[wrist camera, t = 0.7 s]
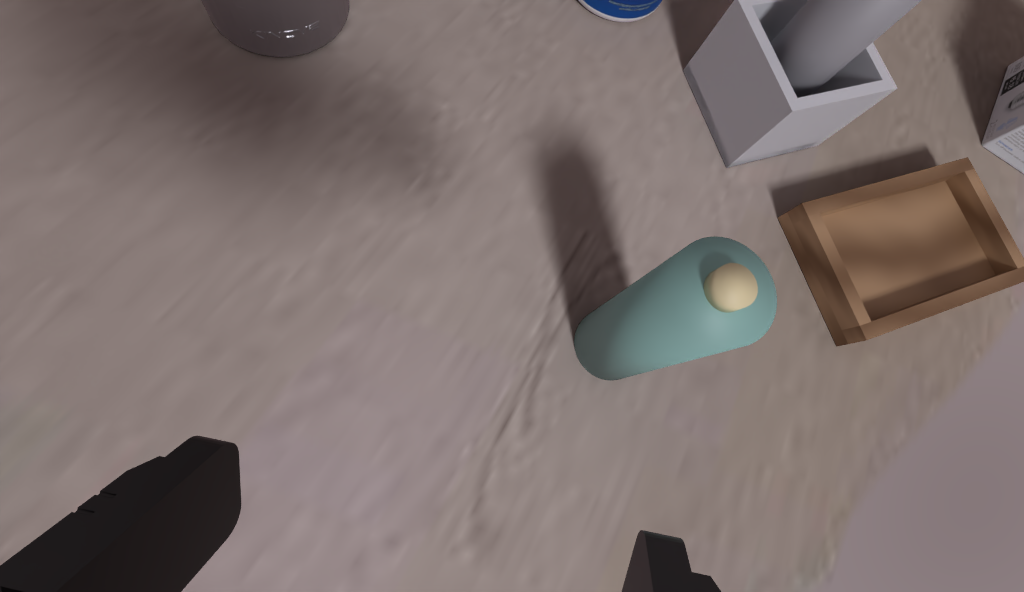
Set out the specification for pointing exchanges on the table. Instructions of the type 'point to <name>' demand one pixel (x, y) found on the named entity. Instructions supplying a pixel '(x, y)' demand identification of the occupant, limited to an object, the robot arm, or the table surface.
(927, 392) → the table surface
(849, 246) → the brown wooden tray
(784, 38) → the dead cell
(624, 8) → the beverage bottle
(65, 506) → the table surface
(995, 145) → the light bulb box
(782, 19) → the cup
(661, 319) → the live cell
